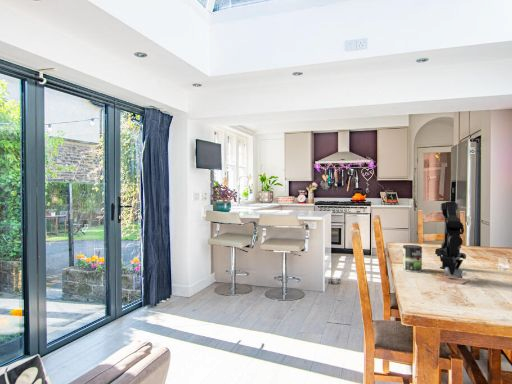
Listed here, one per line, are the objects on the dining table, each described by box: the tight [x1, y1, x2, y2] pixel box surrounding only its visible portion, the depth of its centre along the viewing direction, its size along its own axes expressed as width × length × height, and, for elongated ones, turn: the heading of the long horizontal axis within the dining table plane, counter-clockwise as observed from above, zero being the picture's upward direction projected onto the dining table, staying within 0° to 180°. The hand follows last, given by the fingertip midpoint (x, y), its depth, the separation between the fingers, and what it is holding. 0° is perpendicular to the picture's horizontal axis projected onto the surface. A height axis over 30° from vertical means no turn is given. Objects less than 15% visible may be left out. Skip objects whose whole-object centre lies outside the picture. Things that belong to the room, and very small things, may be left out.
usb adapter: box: [444, 267, 467, 278], centre depth 190 cm, size 10×4×4 cm, turn 42°
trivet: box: [436, 275, 471, 285], centre depth 191 cm, size 12×12×1 cm
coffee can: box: [402, 244, 423, 273], centre depth 214 cm, size 10×10×14 cm
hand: (453, 274), depth 191 cm, fingers closed on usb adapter, 4 cm apart
